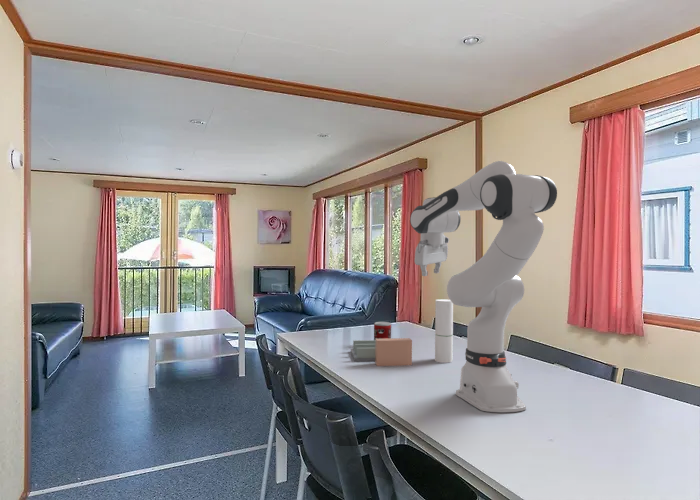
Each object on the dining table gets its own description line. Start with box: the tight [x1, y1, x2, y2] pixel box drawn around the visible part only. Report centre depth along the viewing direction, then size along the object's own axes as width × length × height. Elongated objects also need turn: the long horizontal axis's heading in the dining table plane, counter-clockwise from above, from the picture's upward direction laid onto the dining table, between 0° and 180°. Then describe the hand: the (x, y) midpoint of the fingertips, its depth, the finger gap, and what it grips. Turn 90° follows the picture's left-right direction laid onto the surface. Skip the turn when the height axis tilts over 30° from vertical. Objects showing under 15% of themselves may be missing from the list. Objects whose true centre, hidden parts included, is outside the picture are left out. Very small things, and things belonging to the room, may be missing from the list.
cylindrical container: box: [434, 298, 454, 364], centre depth 177 cm, size 7×7×25 cm
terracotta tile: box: [374, 337, 413, 367], centre depth 171 cm, size 4×14×10 cm, turn 96°
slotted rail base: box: [350, 339, 376, 363], centre depth 184 cm, size 17×22×5 cm
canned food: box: [373, 321, 392, 340], centre depth 202 cm, size 8×8×11 cm
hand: (430, 274), depth 168 cm, fingers open, 8 cm apart
